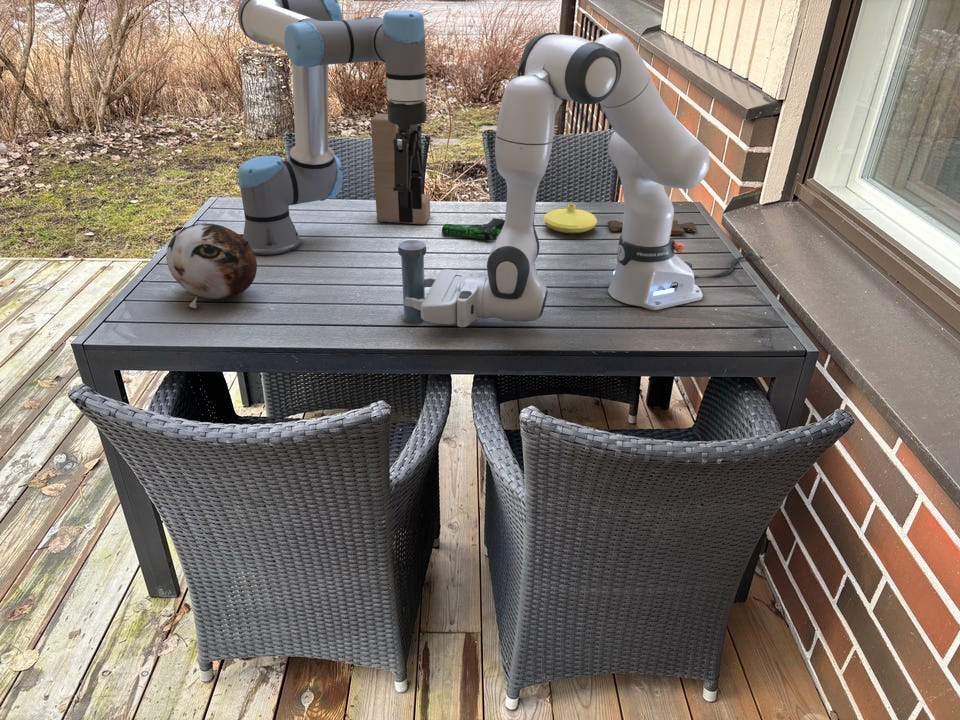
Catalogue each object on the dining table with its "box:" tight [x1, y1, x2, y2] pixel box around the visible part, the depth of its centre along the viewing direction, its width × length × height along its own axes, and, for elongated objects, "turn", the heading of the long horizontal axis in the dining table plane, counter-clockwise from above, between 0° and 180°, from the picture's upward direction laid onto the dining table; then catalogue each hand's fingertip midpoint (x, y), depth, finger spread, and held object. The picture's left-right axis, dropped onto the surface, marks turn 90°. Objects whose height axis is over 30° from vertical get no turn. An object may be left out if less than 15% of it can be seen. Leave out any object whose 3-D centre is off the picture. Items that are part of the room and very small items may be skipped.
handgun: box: [441, 217, 505, 242], centre depth 207 cm, size 16×3×15 cm
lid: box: [397, 239, 427, 258], centre depth 153 cm, size 6×6×2 cm
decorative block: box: [370, 113, 431, 225], centre depth 208 cm, size 8×15×30 cm, turn 82°
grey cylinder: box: [400, 255, 426, 323], centre depth 157 cm, size 5×5×17 cm
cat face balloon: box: [165, 222, 258, 309], centre depth 165 cm, size 22×18×20 cm
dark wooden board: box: [607, 219, 697, 235], centre depth 211 cm, size 26×2×10 cm
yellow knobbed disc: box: [543, 203, 598, 234], centre depth 209 cm, size 16×16×7 cm
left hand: (410, 214), depth 149 cm, fingers open, 8 cm apart
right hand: (410, 291), depth 158 cm, fingers open, 8 cm apart
